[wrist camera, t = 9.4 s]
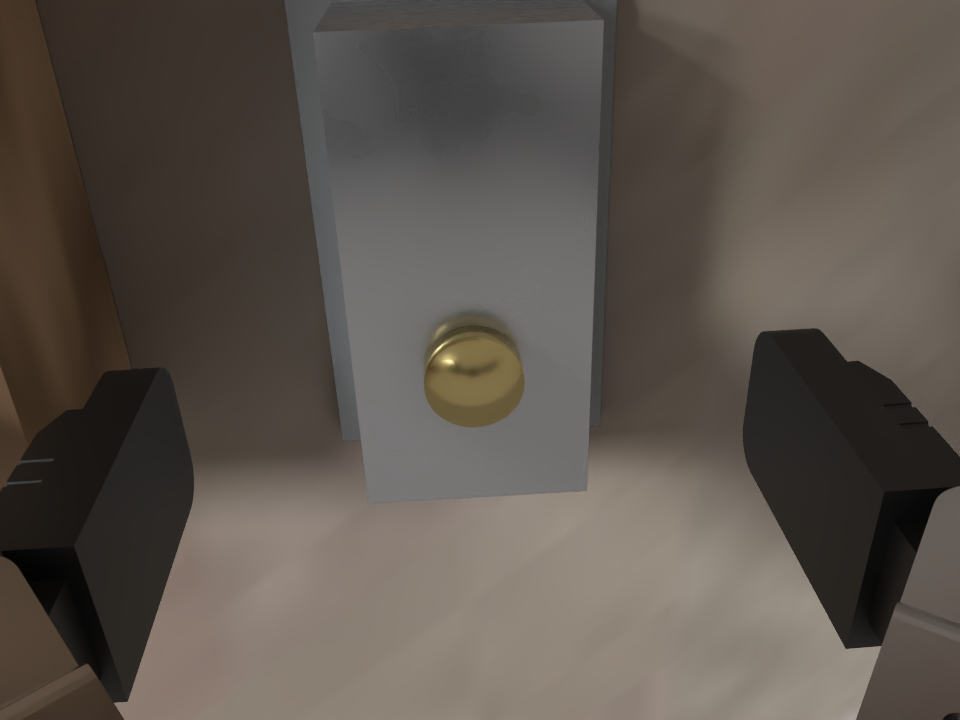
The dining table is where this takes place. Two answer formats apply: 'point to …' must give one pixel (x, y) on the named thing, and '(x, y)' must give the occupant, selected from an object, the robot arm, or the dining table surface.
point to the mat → (303, 15)
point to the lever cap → (466, 237)
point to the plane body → (44, 251)
